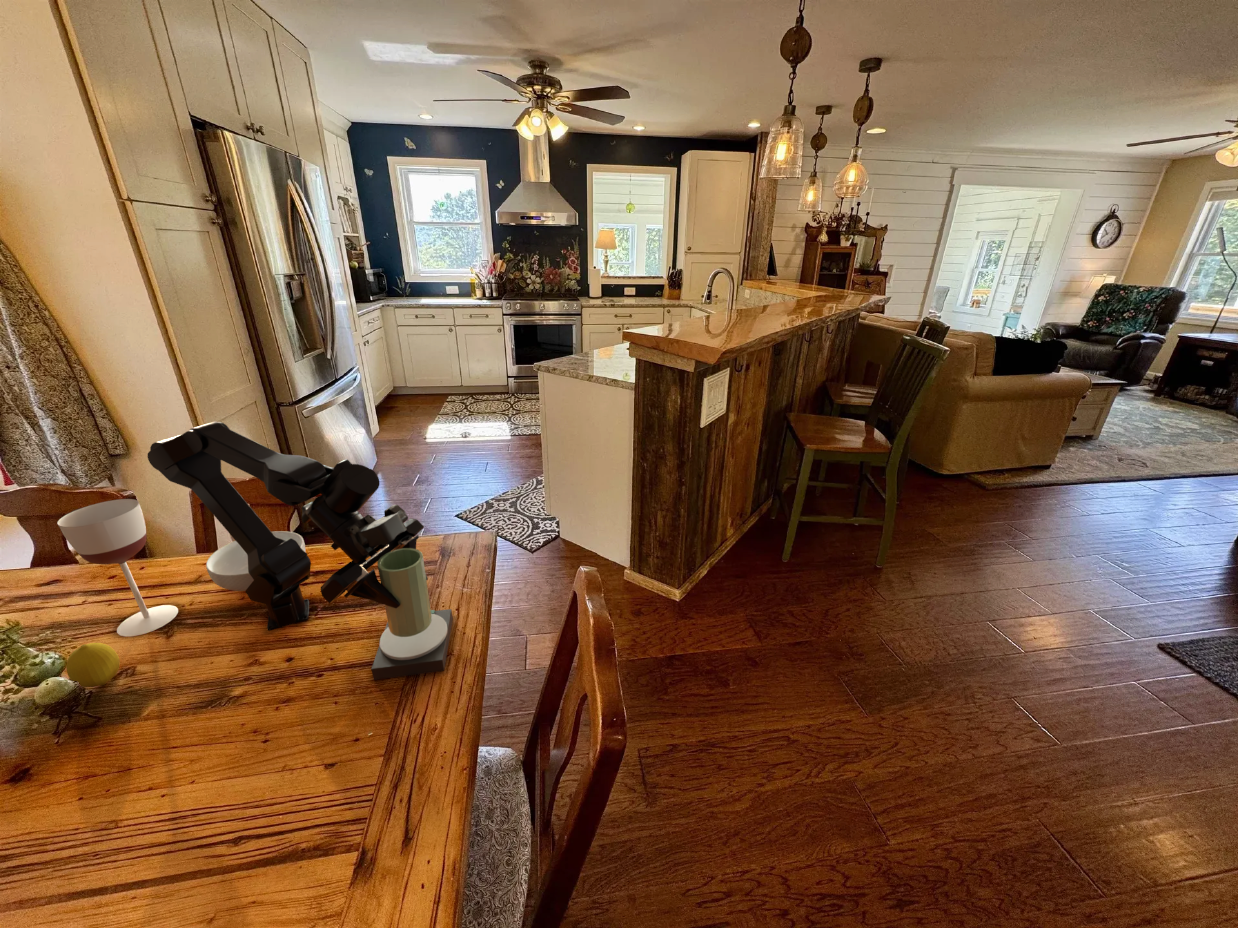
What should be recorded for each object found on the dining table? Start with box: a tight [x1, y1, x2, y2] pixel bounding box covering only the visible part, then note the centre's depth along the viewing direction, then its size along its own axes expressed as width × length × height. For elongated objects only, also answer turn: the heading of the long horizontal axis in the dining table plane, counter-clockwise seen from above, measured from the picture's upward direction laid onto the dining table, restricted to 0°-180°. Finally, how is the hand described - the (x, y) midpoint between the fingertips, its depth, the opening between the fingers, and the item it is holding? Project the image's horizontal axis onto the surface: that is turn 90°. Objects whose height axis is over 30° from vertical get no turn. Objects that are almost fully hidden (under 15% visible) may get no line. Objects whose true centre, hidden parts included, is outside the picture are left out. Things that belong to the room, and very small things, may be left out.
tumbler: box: [376, 548, 432, 637], centre depth 82 cm, size 7×7×13 cm
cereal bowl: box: [205, 530, 306, 592], centre depth 103 cm, size 17×17×7 cm
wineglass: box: [57, 498, 179, 637], centre depth 88 cm, size 9×10×23 cm
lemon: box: [65, 642, 121, 688], centre depth 77 cm, size 6×6×8 cm
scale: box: [370, 608, 454, 681], centre depth 86 cm, size 13×11×3 cm
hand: (412, 593), depth 82 cm, fingers closed on tumbler, 7 cm apart
